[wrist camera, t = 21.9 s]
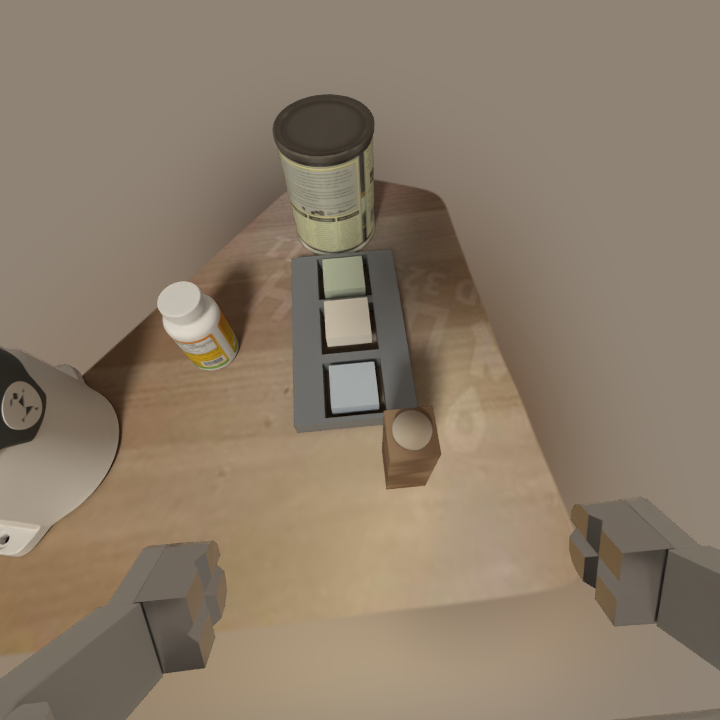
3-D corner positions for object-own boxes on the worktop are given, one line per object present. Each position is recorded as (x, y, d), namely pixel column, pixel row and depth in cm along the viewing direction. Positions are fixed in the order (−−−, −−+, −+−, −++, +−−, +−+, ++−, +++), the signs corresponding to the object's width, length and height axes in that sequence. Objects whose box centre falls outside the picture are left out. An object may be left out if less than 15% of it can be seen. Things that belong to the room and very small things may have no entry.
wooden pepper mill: (386, 489, 39) (389, 457, 28) (382, 451, 40) (383, 407, 30) (425, 485, 39) (442, 451, 28) (419, 447, 40) (433, 402, 30)
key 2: (325, 300, 48) (324, 291, 46) (323, 269, 50) (322, 259, 48) (365, 296, 48) (365, 287, 46) (361, 265, 50) (361, 255, 48)
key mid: (327, 346, 43) (325, 338, 42) (325, 310, 45) (323, 301, 44) (371, 342, 43) (371, 334, 42) (367, 306, 45) (367, 297, 44)
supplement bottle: (212, 322, 48) (175, 266, 39) (249, 341, 47) (220, 288, 38) (181, 358, 46) (136, 308, 37) (219, 380, 45) (181, 332, 36)
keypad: (297, 432, 41) (294, 426, 40) (294, 269, 51) (291, 258, 49) (417, 421, 42) (418, 414, 40) (391, 260, 51) (391, 248, 50)
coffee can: (288, 211, 56) (262, 106, 44) (360, 192, 57) (356, 84, 45) (307, 267, 51) (285, 167, 39) (386, 245, 53) (388, 142, 40)
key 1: (332, 414, 41) (331, 408, 40) (330, 373, 43) (328, 365, 42) (379, 410, 41) (379, 403, 40) (374, 368, 43) (374, 361, 42)
